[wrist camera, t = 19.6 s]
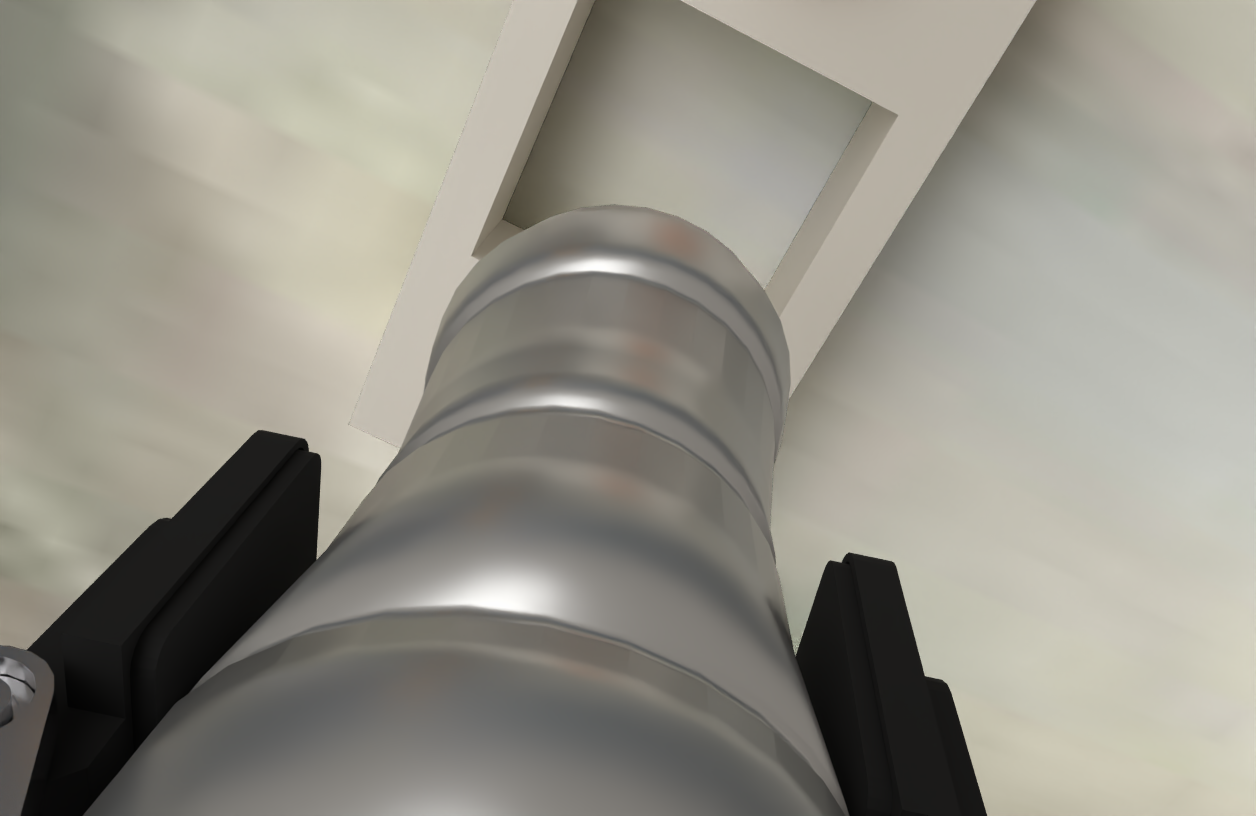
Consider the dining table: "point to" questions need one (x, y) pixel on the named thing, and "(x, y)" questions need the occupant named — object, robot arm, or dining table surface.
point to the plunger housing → (833, 230)
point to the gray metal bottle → (538, 571)
